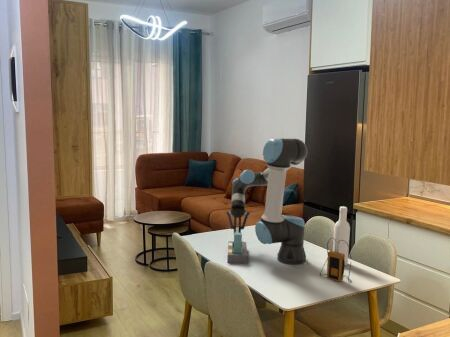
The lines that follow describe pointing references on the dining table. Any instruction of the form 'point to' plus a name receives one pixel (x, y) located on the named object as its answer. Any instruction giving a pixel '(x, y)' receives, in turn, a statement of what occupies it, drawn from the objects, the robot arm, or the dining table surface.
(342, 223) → the bottle
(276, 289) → the dining table surface
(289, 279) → the dining table surface
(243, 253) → the switch housing
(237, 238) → the switch knob
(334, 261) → the multimeter
